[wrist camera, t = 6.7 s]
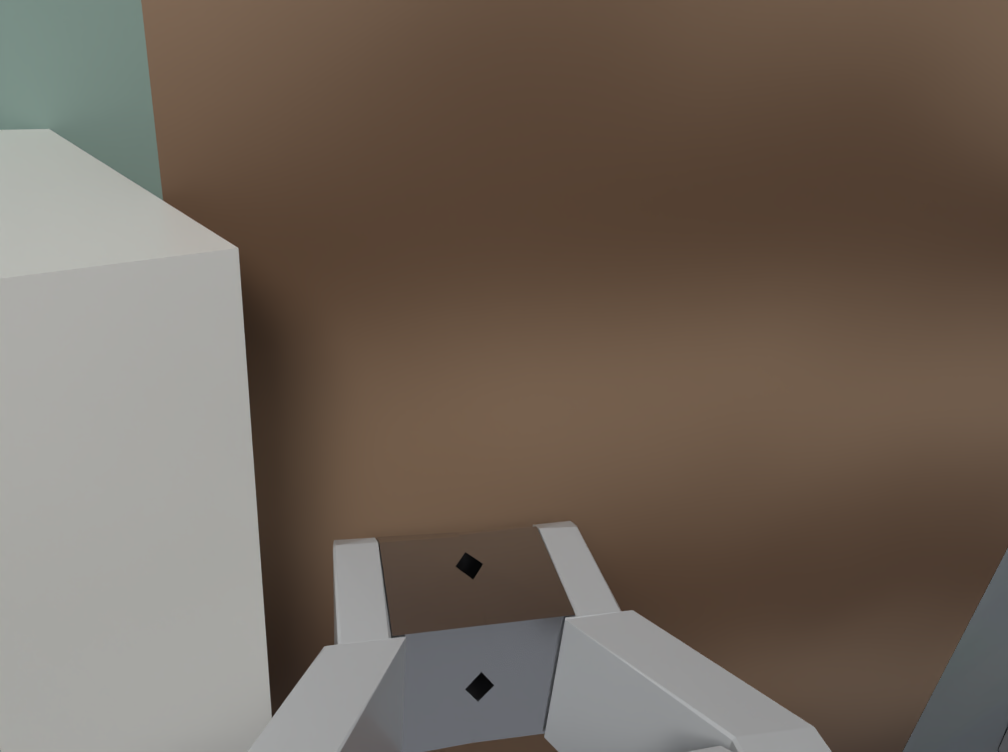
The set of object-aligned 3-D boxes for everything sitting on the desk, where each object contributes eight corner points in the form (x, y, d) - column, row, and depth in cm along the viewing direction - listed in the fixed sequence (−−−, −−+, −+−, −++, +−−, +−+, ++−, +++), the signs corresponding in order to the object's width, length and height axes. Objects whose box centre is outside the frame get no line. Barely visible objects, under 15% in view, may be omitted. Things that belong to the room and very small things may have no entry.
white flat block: (49, 128, 10) (-196, 133, 8) (239, 248, 6) (-147, 296, 5) (135, 615, 14) (-20, 681, 12) (283, 871, 10) (85, 1013, 9)
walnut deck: (167, -387, 8) (68, -657, 5) (1093, -173, 12) (1416, -242, 8) (265, 861, 19) (256, 1053, 15) (738, 774, 22) (817, 915, 19)
